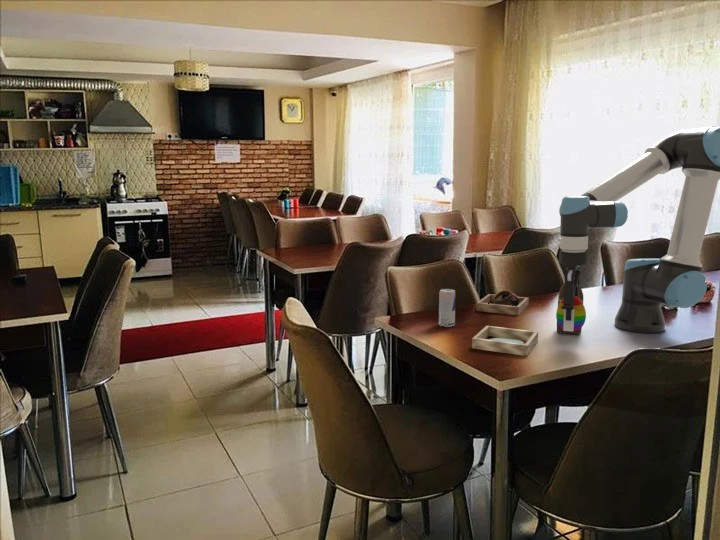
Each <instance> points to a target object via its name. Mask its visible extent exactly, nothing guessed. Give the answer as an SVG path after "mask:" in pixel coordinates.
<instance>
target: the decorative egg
mask: <svg viewBox="0 0 720 540" xmlns="http://www.w3.org/2000/svg"><path fill="white" fill-rule="evenodd" d="M563 303H564V298H563V299H562V300H561V302H560V303H559V305H558V304H557V308H556V314H555V316H556V323H557V322H558V324H559V326H560V327H561V328H562V329H563V325H564V309H561V306H563ZM586 312H587V311H586V308H585V305H584V302H583V303H582V301H581V300H580V299H579V298H578V297H577V296H575V297H574V330H579V329H581V328H583V326H584V324H585V323H586V320H587V319H586V317H587V313H586ZM581 330H582V329H581Z"/></svg>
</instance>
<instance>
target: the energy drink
mask: <svg viewBox="0 0 720 540" xmlns="http://www.w3.org/2000/svg"><path fill="white" fill-rule="evenodd" d="M438 295H439V297H438V299H439V300H438V303H439V304H438V325H439V326H440V327H442V326H444V327H445V328H451V327H452V326H453V327H454V326H455V325H456V290H455V289H452V288H442V289H440V290H439V292H438ZM444 327H443V328H444Z"/></svg>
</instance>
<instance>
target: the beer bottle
mask: <svg viewBox="0 0 720 540" xmlns="http://www.w3.org/2000/svg"><path fill="white" fill-rule="evenodd" d="M564 286H565V282H564V284H562V286H561V287H560V289H559V291H558V298H557V306H558V305H559V303H560V302H561V300H562V299H563V298H564ZM579 295H580V297H579V298H581V301H582V303H583V304H584V293H583V290H582V287H581V286H580V285H579ZM582 328H583V327H582ZM582 328H581V329H579V330H574V331H573V332H572V331H563V329H562V328H561V327H560V326H559V324H558V322H557V321H556V331H557V333H558V334H560V335H565V336H574V335H575V336H579V335H581V334H582V330H583V329H582Z"/></svg>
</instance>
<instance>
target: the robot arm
mask: <svg viewBox="0 0 720 540" xmlns="http://www.w3.org/2000/svg"><path fill="white" fill-rule="evenodd" d="M679 168H681V173H683V174H684V176H685V179H684V183H683V186H682V191H681V195H680V200H679V204H678V208H677V211H676V215H675V218H674V219H675V220H674V224H673V228H672V233H671V235H670V241H669V246H668V249H667V253H666V254H665V255H664V256H662V257H661V258H654V257H653V258H630V259H627V260H626V261H625V263H624V267H623V281H622V282H623V283H622V296H621V304H620V306H619V309H618V311H617V313H616V315H615V317H614V326H615V327H616V328H618V329H620V330H625V331H628V332H632V333H633V332H635V333H643V334H657V333H662V332H664V331H665V328H666V321H665V318H664V314H663V310H662V306H661V305H662V304H665V305H668V306H670V307H673V308H674V307H675V308H680V309H687V308H688V309H689V308H692V307H693V306H695V305H696V304H699V303H700V302H701V300H703V298H704V297H705V294H706V292H707V289H708V281H707V278H706V276H705V275H704V274H703V273H702V271H703V264H702V263H701V261H700V255H701V250H702V247H703V244H704V240H705V239H704V238H705V234H706V231H707V227H708V222H709V219H710V216H711V215H710V214H711V211H712V206H713V203H714V198H715V194H716V191H717V187H718V184H719V181H720V126H707V127H706V126H705V127H699V128H698V127H697V128H684V129H680V130H677V131H675V132H673V133H671V134H669V135H668V136H665V137H663V138H662V139H661V140H659V141H657V142H656V143H654V144H652V145H651V146H649V147H648V148H646V149H645V151H644V154H643V155H641V156H640V157H638V158H636V159H635V160H633V161H632V162H630V163H629V164H627V165H626V166H624V167H623V168H621V169H619V170H618V171H617V172H615V173H614V174H612V175H611V176H609V177H608V178H606V179H605V180H603V181H601V182H600V183H598V184H596V185H595V186H594V187H592V188H590V189H589V190H587V191H586V192H585V193H583V194H580V195H568V196H564V197H563V198H562V200H561V205H560V206H559V208H558V209H559V216H560V229H559V231H560V232H559V233H560V234H559V238H558V239H557V242H560V243H559V249H560V251H559V257H558V258H559V261H558V262H559V264H561V265H562V266H563V265H565V266H566V269H565V270H564V283H565V286H564V303H563V306H561V309H564V325H563V331H572V332H573V331H574V297H575V296H577V297H578V298H579V297H580V295H579V286H580V280H581V278H580V277H581V273H582V272H581V267H580V266H584V265H586V264H587V262H588V251H587V250H588V249H589V230H590V229H591V230H593V229H606V228H607V229H609V228H610V229H614V228H618V227H623V226H624V225H625V224H626V222H627V221H628V215H629V214H628V213H629V210H628V207H627V206H626V204H625V203H624V202H622V201H619V200H621V199H622V198H624V197H625V196H626V195H628V194H630V193H631V192H633V191H635V190H637V188H638V187H639V188H640V187H641V186H642V185H644V184H646V183H647V182H648V181H650V180H652V179H653V178H654V177H656V176H658V175H665V174H666V173H668V172H670V171H673V170H674V169H679ZM579 299H580V300H581V298H579Z"/></svg>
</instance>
